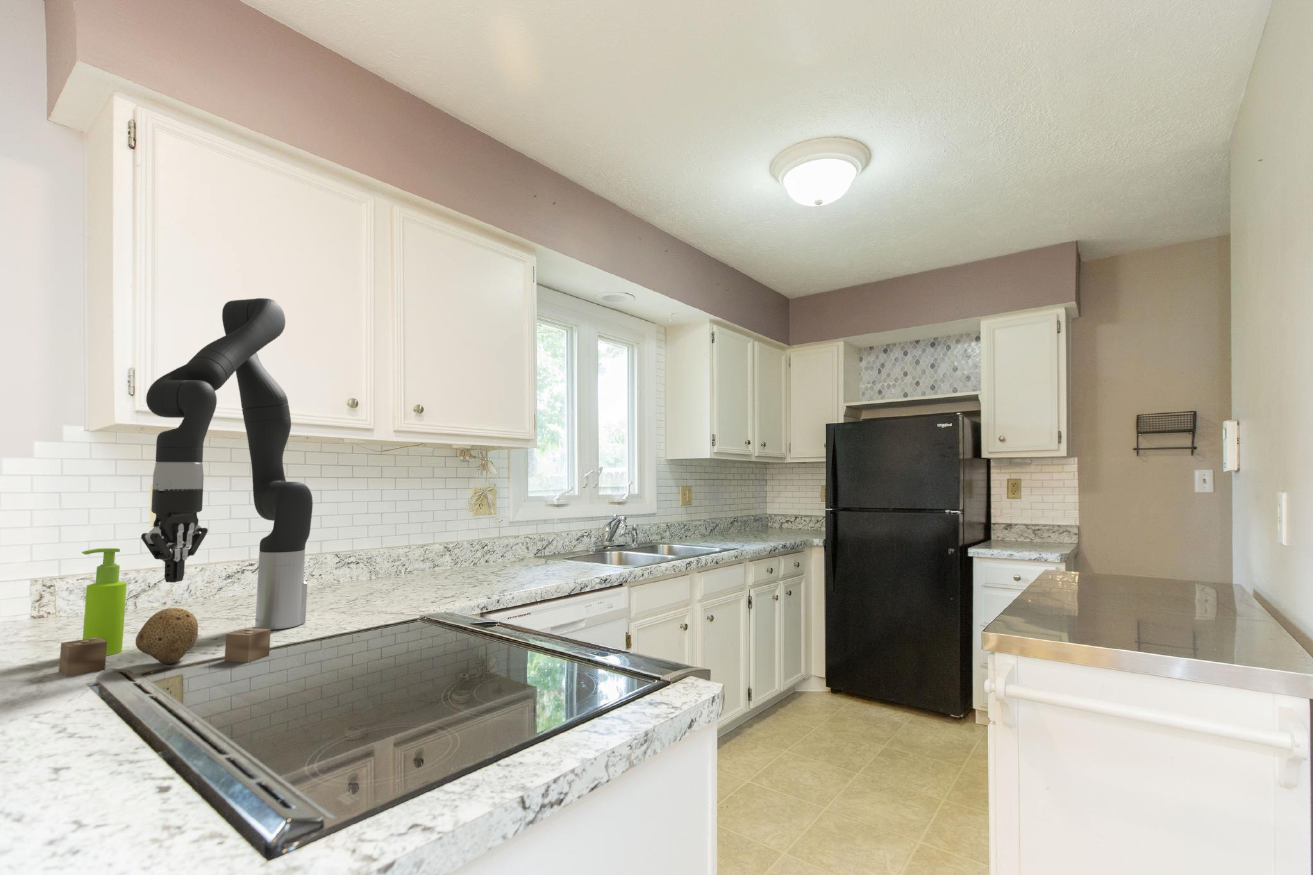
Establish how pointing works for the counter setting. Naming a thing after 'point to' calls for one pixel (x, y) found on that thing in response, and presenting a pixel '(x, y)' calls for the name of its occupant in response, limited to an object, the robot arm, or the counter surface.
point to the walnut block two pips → (247, 645)
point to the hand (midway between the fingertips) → (173, 581)
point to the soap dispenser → (106, 603)
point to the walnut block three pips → (82, 656)
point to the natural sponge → (168, 635)
